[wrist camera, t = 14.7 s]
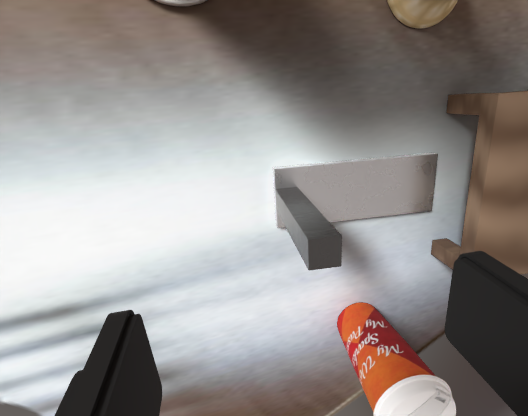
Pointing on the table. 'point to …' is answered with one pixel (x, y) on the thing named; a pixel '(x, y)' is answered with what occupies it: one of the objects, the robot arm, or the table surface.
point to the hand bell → (421, 11)
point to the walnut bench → (494, 181)
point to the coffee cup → (391, 367)
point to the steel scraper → (347, 198)
